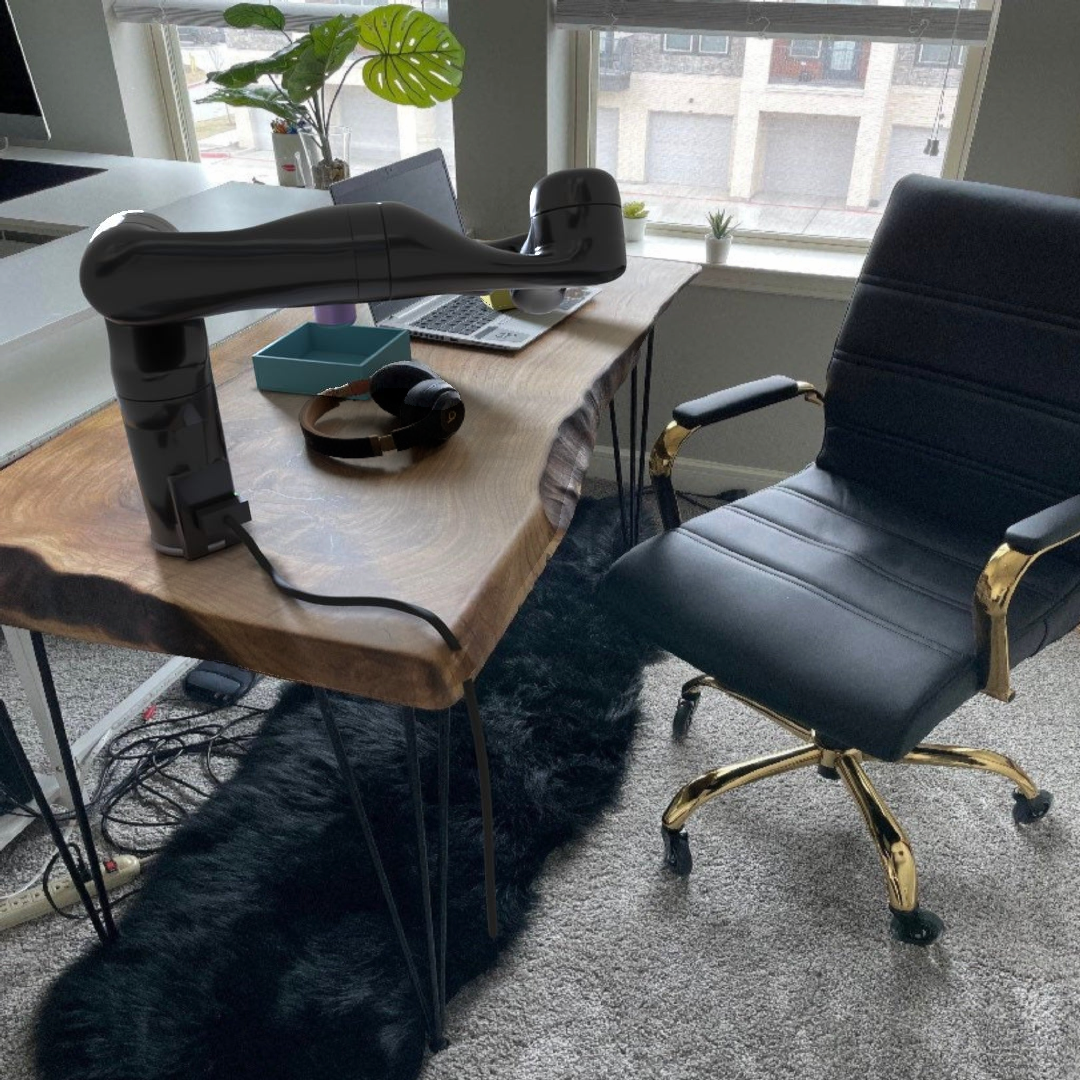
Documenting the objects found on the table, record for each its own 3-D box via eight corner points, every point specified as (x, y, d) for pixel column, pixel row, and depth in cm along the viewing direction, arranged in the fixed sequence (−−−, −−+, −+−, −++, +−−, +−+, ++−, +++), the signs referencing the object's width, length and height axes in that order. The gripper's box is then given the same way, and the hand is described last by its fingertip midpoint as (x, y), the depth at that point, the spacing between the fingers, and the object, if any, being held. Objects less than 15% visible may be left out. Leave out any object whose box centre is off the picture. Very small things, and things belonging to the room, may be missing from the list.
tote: (411, 361, 152) (409, 329, 149) (366, 400, 138) (362, 366, 136) (311, 351, 156) (306, 320, 154) (257, 389, 143) (251, 356, 140)
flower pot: (470, 303, 177) (467, 252, 172) (515, 296, 180) (513, 246, 175) (489, 316, 170) (486, 263, 165) (535, 309, 173) (534, 257, 168)
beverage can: (348, 330, 140) (334, 222, 132) (309, 329, 141) (292, 221, 133) (363, 317, 145) (350, 212, 137) (325, 316, 146) (310, 211, 138)
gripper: (404, 308, 131) (290, 301, 135) (444, 279, 142) (338, 272, 147) (398, 251, 127) (281, 245, 131) (440, 225, 139) (331, 221, 143)
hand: (312, 260), depth 139 cm, fingers closed on beverage can, 5 cm apart
